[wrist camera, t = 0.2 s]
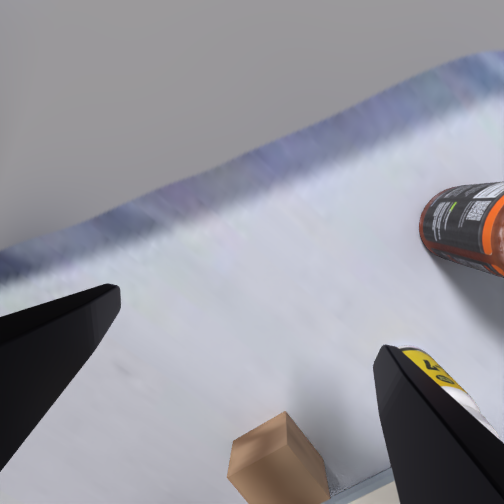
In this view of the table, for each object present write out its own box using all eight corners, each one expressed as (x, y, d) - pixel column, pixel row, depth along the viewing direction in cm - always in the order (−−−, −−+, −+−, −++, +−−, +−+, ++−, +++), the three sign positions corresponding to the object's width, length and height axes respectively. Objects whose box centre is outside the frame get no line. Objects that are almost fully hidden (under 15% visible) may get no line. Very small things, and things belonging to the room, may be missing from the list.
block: (270, 484, 29) (269, 528, 25) (233, 439, 28) (226, 477, 25) (322, 456, 28) (330, 498, 24) (285, 409, 27) (287, 444, 23)
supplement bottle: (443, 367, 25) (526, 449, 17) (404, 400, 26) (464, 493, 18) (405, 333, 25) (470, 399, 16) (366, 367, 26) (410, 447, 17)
